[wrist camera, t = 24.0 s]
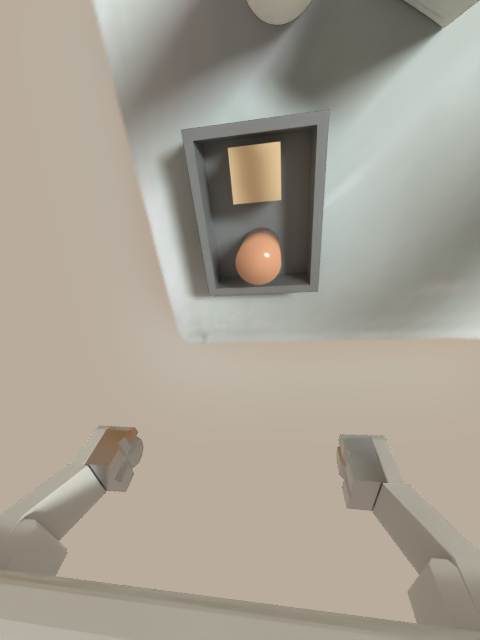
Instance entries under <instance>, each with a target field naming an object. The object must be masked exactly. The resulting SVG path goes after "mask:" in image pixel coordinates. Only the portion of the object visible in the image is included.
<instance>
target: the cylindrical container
mask: <svg viewBox="0 0 480 640" xmlns="http://www.w3.org/2000/svg"><path fill="white" fill-rule="evenodd" d="M247 2H248V4H249V6H250V8H251V9H252V11H253V12H254V14H255V15H256V16H257V17H258V18H260V19H261V20H262V21H264V22H266V23H268V24H273V25H282V24H286V23H288V22H291V21H292V20H294V19H295V18H297V17H298V16H299V15H300V14H301V13H302V12H303V11H304V10H305V9H306V7H307V6H308V5H309V3H310V2H311V0H247Z"/></svg>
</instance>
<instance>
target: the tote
mask: <svg viewBox="0 0 480 640" xmlns="http://www.w3.org/2000/svg"><path fill="white" fill-rule="evenodd" d="M329 111H330V109H328V110H321V111H314V112H306V113H299V114H292V115H285V116H277V117H270V118H263V119H256V120H248V121H241V122H234V123H227V124H219V125H212V126H205V127H198V128H190V129H183V130H181V133H182V138H183V144H184V150H185V156H186V162H187V167H188V173H189V179H190V185H191V191H192V196H193V202H194V208H195V214H196V220H197V225H198V231H199V237H200V243H201V249H202V254H203V260H204V266H205V272H206V278H207V283H208V289H209V295H210V296H220V295H245V294H270V293H295V292H318V282H319V267H320V251H321V236H322V220H323V204H324V189H325V173H326V158H327V142H328V126H329ZM272 142H280V145H281V200H277V201H266V202H255V203H244V204H233V195H232V185H231V175H230V165H229V155H228V148H232V147H240V146H248V145H256V144H264V143H272ZM260 227H264V228H268V229H271V230H272V231H274V232H275V233H276V234H277V236H278V238H279V240H280V244H281V268H280V271H279V273H278V275H277V276H276V277H275V278H274V279H273V280H272V281H270V282H269V283H266V284H262V285H255V284H251V283H248V282H246V281H245V280H244V279H242V277H241V276H240V275H239V273H238V272H237V269H236V256H237V253H238V251H239V249H240V247H241V245H242V243H243V241H244V239H245V237H246V235H247V234H248V233H249V232H250V231H251V230H253V229H256V228H260Z"/></svg>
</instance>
